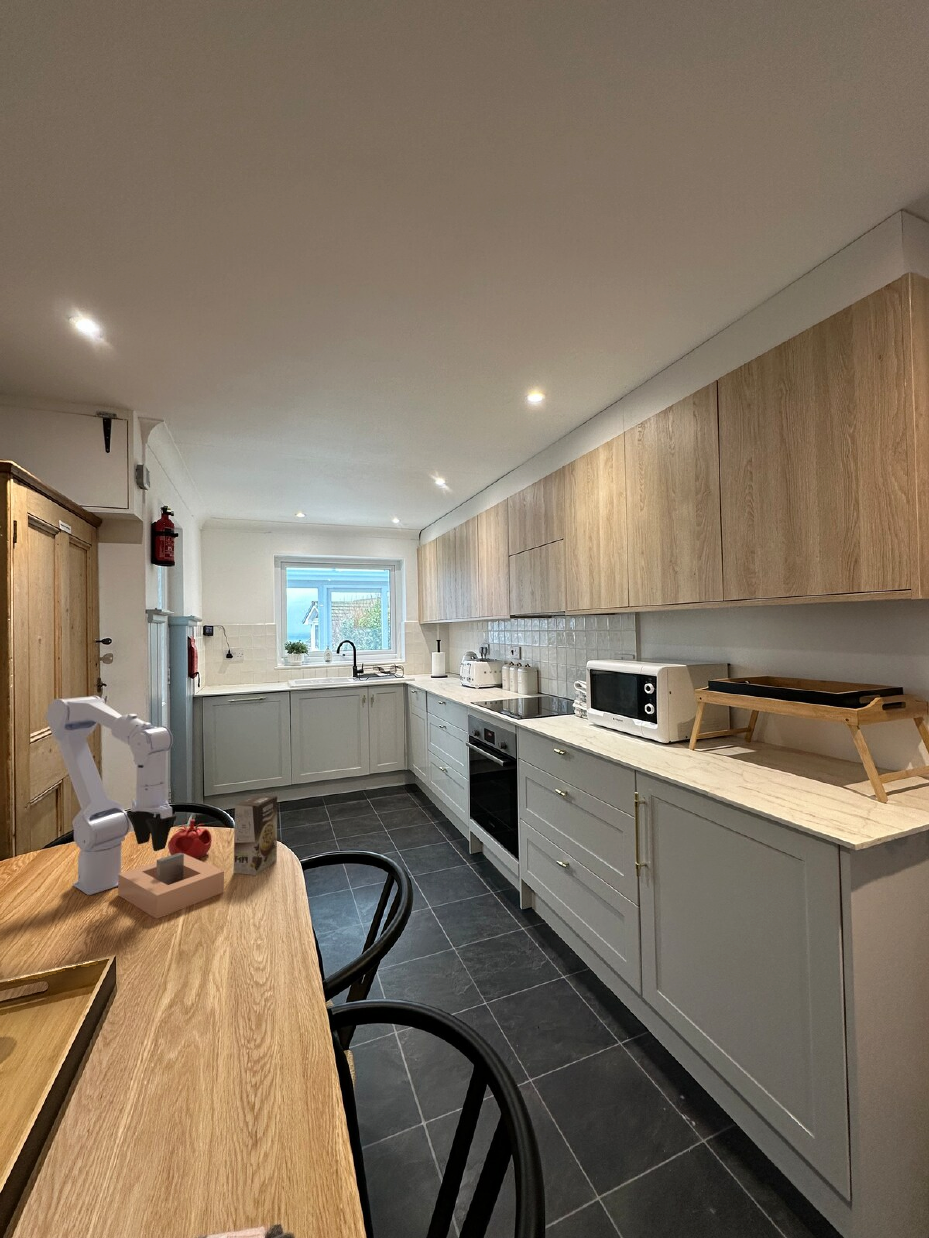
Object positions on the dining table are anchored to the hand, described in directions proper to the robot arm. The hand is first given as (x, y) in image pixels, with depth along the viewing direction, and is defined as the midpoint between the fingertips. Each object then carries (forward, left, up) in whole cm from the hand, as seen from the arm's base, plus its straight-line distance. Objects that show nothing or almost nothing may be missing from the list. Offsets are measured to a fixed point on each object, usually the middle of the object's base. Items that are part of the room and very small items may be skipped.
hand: (151, 846), depth 117 cm
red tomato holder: (-14, +16, -11) cm, 24 cm away
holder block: (+3, +3, -10) cm, 11 cm away
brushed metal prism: (+3, +3, -11) cm, 11 cm away
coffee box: (+6, +22, -11) cm, 25 cm away
